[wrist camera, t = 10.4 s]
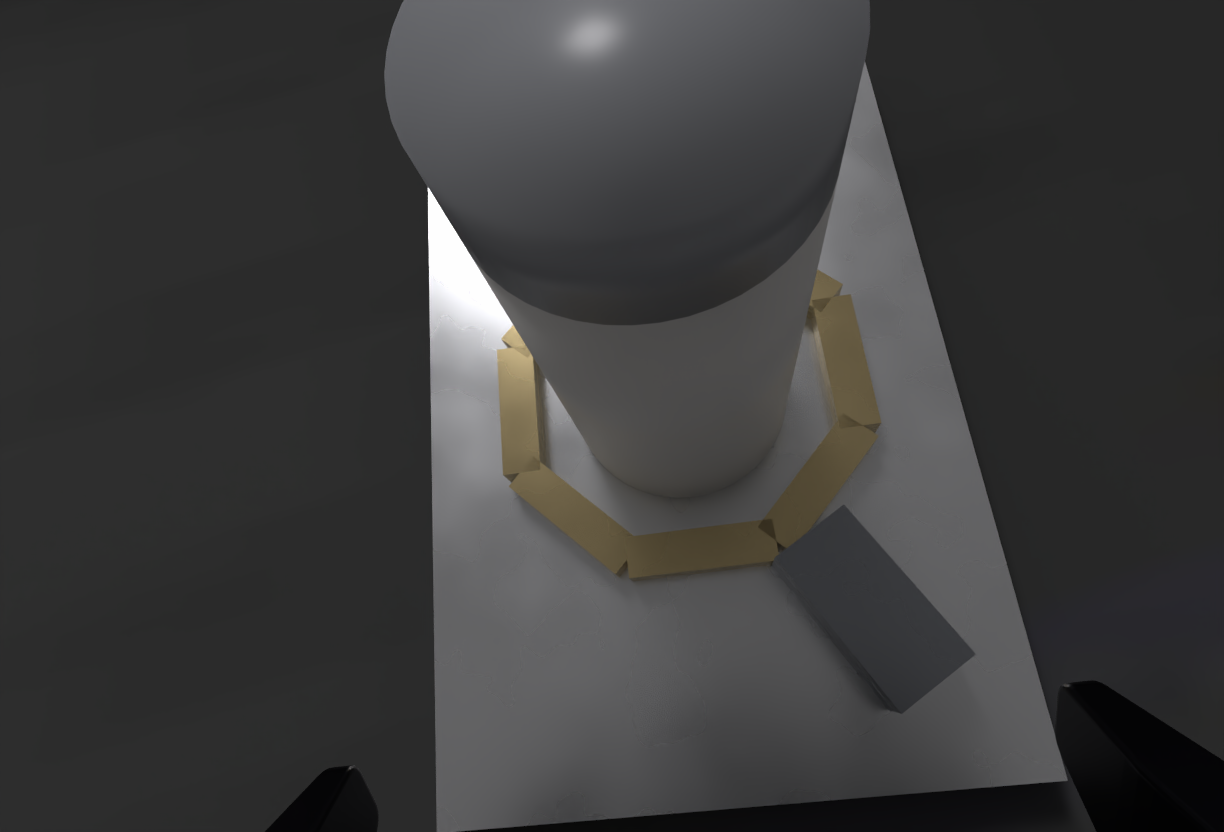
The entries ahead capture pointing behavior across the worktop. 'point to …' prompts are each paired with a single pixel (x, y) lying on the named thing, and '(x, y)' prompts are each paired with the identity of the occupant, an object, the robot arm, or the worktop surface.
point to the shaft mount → (725, 570)
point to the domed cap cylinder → (641, 201)
